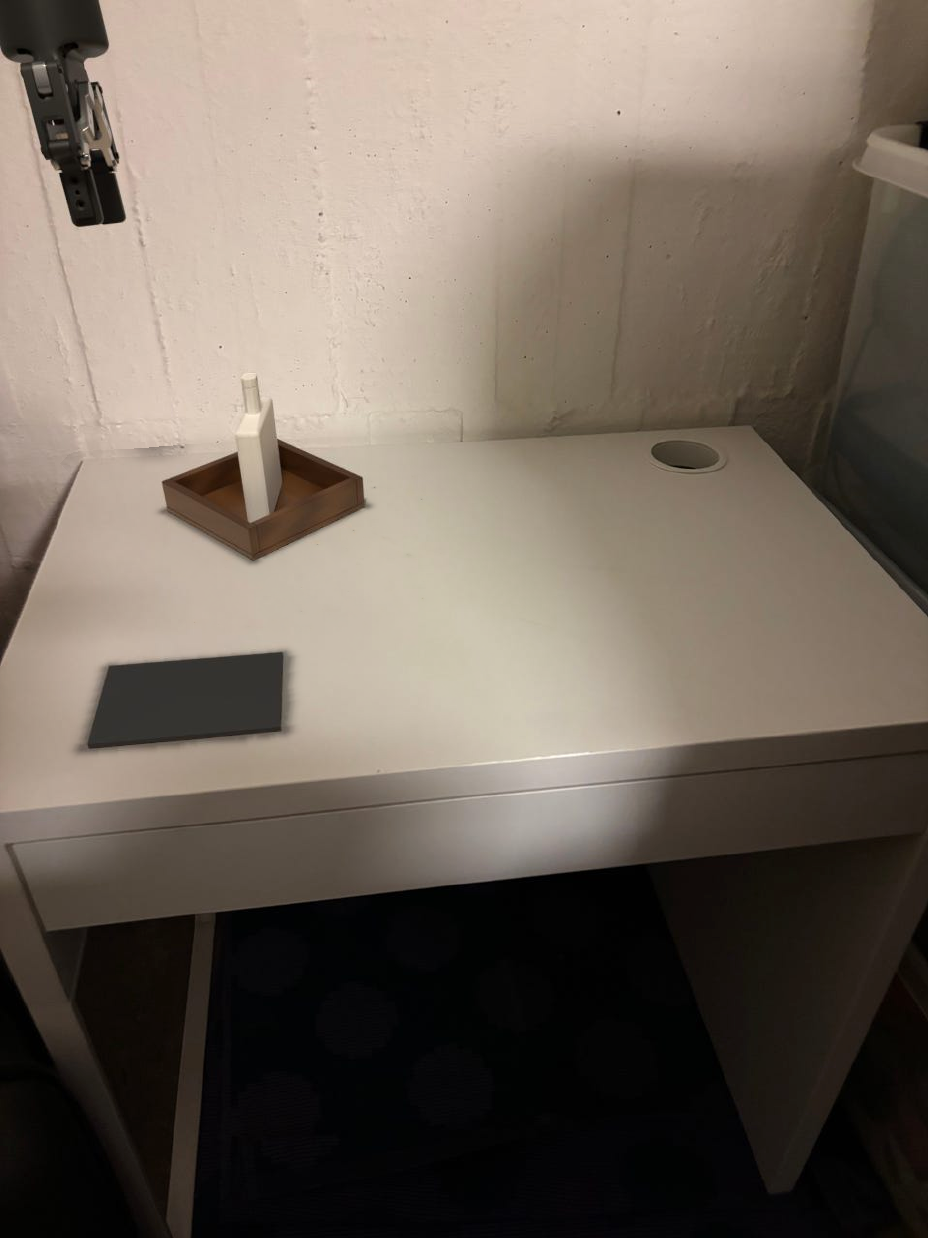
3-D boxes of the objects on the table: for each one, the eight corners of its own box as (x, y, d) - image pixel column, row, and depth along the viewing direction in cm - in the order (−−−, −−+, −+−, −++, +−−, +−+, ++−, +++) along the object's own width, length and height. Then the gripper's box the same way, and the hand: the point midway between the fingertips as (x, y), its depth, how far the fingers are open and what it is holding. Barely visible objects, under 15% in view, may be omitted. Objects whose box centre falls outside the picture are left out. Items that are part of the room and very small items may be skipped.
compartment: (253, 560, 77) (248, 529, 75) (167, 510, 84) (161, 481, 82) (364, 506, 84) (363, 476, 83) (277, 465, 91) (274, 436, 90)
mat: (88, 748, 58) (86, 743, 58) (110, 670, 65) (108, 665, 65) (280, 731, 60) (280, 726, 60) (283, 656, 66) (282, 651, 66)
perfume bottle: (261, 483, 87) (244, 358, 80) (283, 483, 87) (267, 358, 80) (247, 526, 80) (227, 393, 73) (270, 525, 80) (252, 393, 74)
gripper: (15, 5, 72) (75, 229, 79) (-53, -39, 59) (27, 233, 66) (112, -6, 73) (164, 217, 80) (66, -52, 60) (133, 219, 67)
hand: (101, 224), depth 73 cm, fingers open, 8 cm apart
